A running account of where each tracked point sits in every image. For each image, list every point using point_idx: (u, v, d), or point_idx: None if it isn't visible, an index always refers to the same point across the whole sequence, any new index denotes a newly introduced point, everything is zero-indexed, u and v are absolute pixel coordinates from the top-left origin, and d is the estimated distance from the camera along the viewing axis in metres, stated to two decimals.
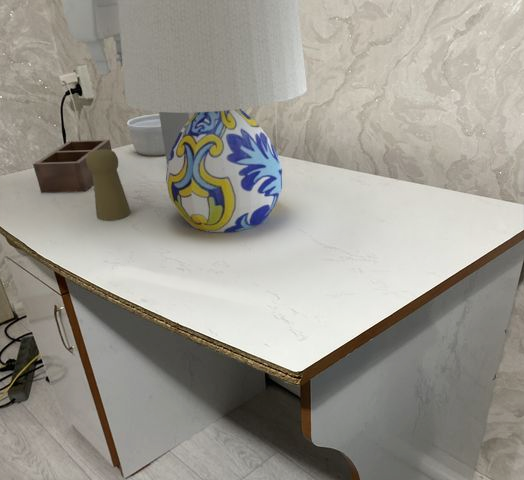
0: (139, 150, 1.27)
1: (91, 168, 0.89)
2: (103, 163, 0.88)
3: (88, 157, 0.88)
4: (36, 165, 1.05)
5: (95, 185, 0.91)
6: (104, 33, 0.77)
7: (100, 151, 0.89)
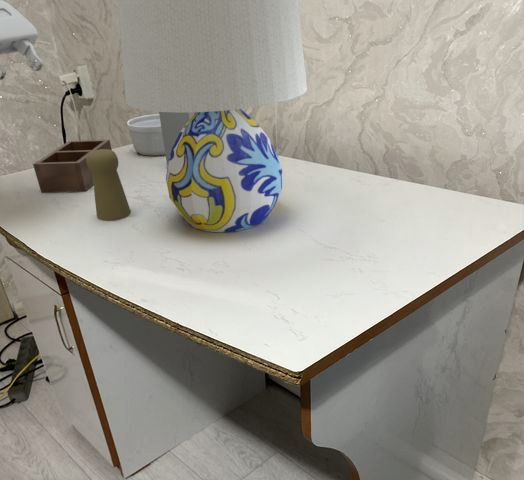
0: (139, 150, 1.27)
1: (91, 168, 0.89)
2: (103, 163, 0.88)
3: (88, 157, 0.88)
4: (36, 165, 1.05)
5: (95, 185, 0.91)
6: None
7: (100, 151, 0.89)
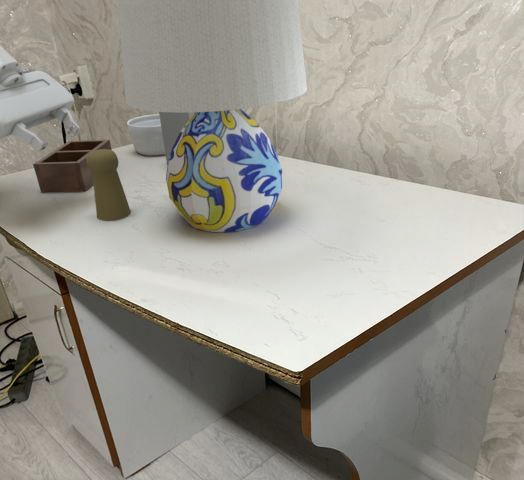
0: (139, 150, 1.27)
1: (91, 168, 0.89)
2: (103, 163, 0.88)
3: (88, 157, 0.88)
4: (36, 165, 1.05)
5: (95, 185, 0.91)
6: (14, 116, 0.83)
7: (100, 151, 0.89)
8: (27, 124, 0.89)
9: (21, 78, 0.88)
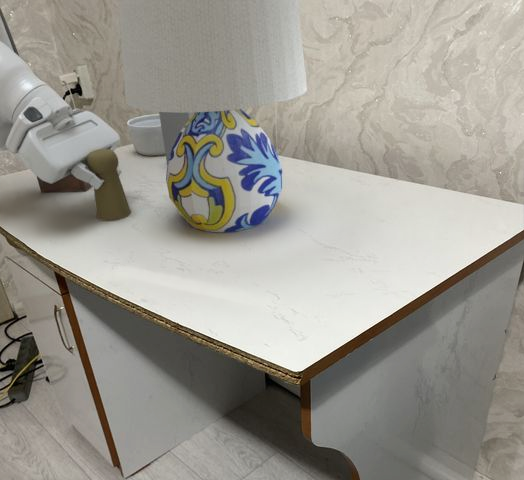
0: (139, 150, 1.27)
1: (91, 168, 0.89)
2: (103, 163, 0.88)
3: (88, 157, 0.88)
4: None
5: None
6: (67, 160, 0.85)
7: (100, 151, 0.89)
8: None
9: (72, 121, 0.89)
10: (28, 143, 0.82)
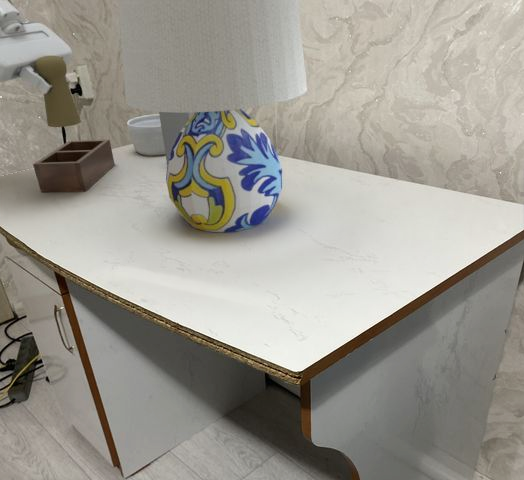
0: (139, 150, 1.27)
1: (39, 72, 0.93)
2: (50, 67, 0.92)
3: (36, 61, 0.92)
4: (36, 165, 1.05)
5: None
6: (14, 60, 0.89)
7: (48, 56, 0.93)
8: None
9: (22, 27, 0.93)
10: None
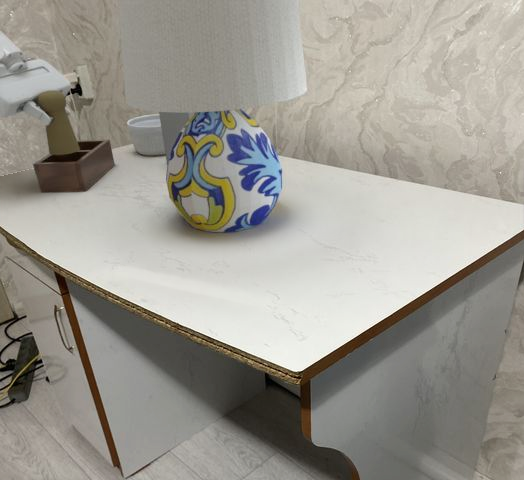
0: (139, 150, 1.27)
1: (41, 106, 1.01)
2: (51, 101, 1.00)
3: (38, 96, 1.01)
4: (36, 165, 1.05)
5: None
6: (18, 97, 0.97)
7: (49, 91, 1.01)
8: None
9: (24, 65, 1.01)
10: None
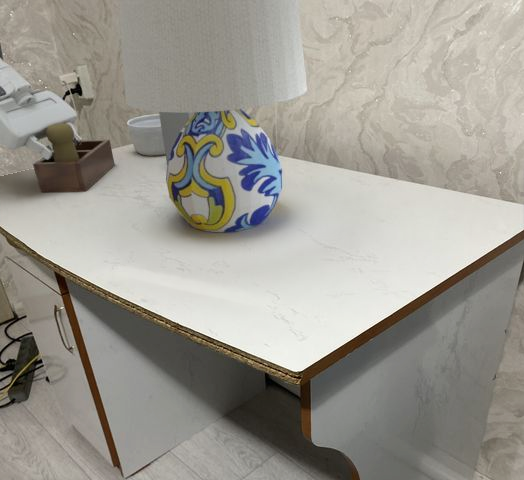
0: (139, 150, 1.27)
1: (50, 139, 1.05)
2: (60, 134, 1.04)
3: (47, 129, 1.04)
4: (36, 165, 1.05)
5: (54, 154, 1.07)
6: (27, 130, 1.00)
7: (57, 124, 1.05)
8: (38, 136, 1.06)
9: (33, 98, 1.05)
10: None
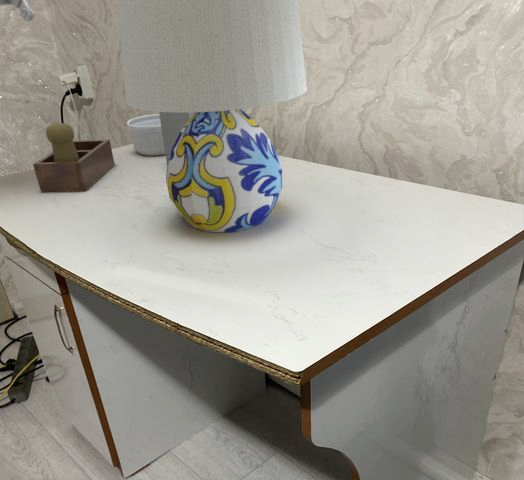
0: (139, 150, 1.27)
1: (50, 139, 1.05)
2: (60, 134, 1.04)
3: (47, 129, 1.04)
4: (36, 165, 1.05)
5: (54, 154, 1.07)
6: None
7: (57, 124, 1.05)
8: None
9: None
10: None
